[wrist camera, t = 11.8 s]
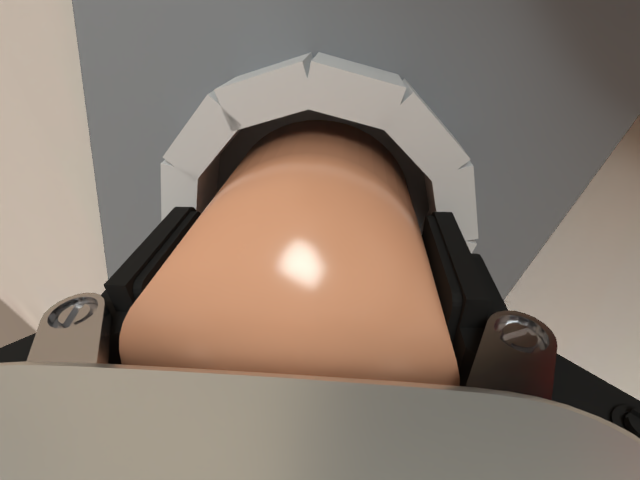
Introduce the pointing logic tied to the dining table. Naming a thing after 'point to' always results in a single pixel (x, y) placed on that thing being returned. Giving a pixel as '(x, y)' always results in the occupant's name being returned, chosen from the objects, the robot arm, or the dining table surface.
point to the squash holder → (362, 103)
